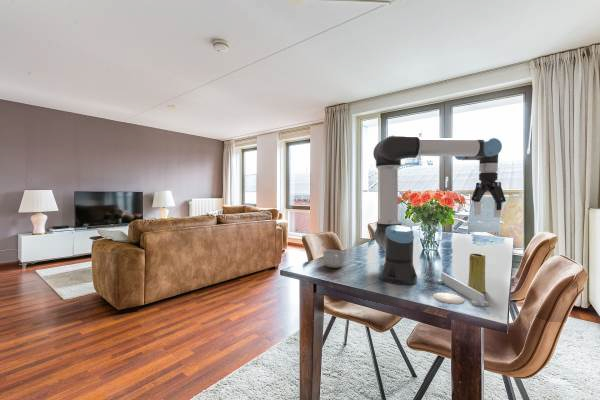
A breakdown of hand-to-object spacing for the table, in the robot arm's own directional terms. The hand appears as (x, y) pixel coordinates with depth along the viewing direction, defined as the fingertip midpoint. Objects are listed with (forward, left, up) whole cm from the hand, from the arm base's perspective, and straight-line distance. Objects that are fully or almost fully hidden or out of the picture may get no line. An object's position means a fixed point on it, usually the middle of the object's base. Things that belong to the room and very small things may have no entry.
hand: (486, 215), depth 137 cm
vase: (-22, -26, -28) cm, 44 cm away
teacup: (-74, +8, -28) cm, 80 cm away
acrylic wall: (-30, -28, -27) cm, 50 cm away
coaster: (-38, -34, -27) cm, 58 cm away
